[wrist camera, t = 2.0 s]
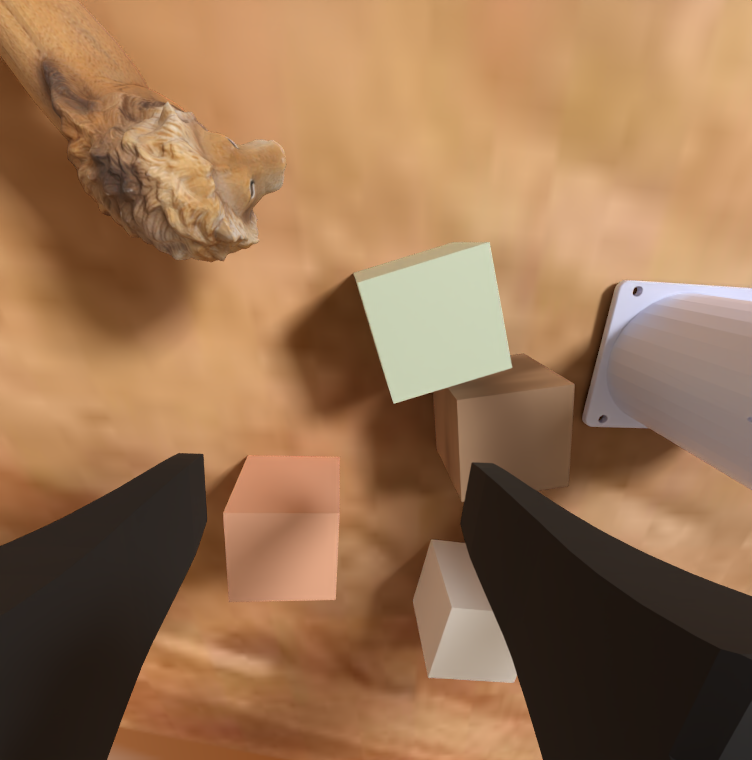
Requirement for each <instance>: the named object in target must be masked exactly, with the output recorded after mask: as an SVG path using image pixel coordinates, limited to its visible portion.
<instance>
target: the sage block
mask: <svg viewBox="0 0 752 760" xmlns="http://www.w3.org/2000/svg"><path fill="white" fill-rule="evenodd" d="M353 274H354V277H355V280H356V284H357V287H358V290H359V294H360V297H361V300H362V304H363V307H364V310H365V314H366V317H367V320H368V324H369V327H370V330H371V334H372V337H373V340H374V344H375V347H376V350H377V353H378V357H379V360H380V363H381V367H382V370H383V373H384V376H385V379H386V382H387V385H388V388H389V391H390V394H391V397H392V400H393V403H394V404H395V403H398V402H401V401H405V400H408V399H411V398H414V397H418V396H421V395H424V394H428V393H431V392H434V391H438V390H441V389H444V388H447V387H451V386H454V385H457V384H461V383H464V382H467V381H471V380H474V379H477V378H480V377H484V376H487V375H490V374H494V373H497V372H500V371H503V370H507V369H510V368H512V364H511V358H510V353H509V347H508V342H507V336H506V331H505V325H504V320H503V314H502V309H501V303H500V298H499V292H498V286H497V281H496V275H495V270H494V264H493V259H492V253H491V248H490V242H452V243H449V244H446V245H443V246H439V247H436V248H433V249H430V250H426V251H423V252H420V253H417V254H414V255H410V256H407V257H404V258H401V259H397V260H394V261H391V262H388V263H384V264H381V265H378V266H375V267H371V268H368V269H365V270H362V271H358V272H355V273H353Z"/></svg>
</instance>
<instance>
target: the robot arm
mask: <svg viewBox="0 0 752 760" xmlns="http://www.w3.org/2000/svg"><path fill="white" fill-rule="evenodd" d="M635 287H637V292H636V294H635V295H633V290H634V288H635ZM602 415H603V418H602V419H601V420H598V419H599V417H600V416H602ZM582 420H583V422H584V423H585V424H587V425H588V426H590V427H619V428H650V429H651V430H653V431H655V432H656V433H658V434H660V435H661V436H663V437H665V438H666V439H668V440H670V441H671V442H673V443H674V444H676V445H678V446H679V447H681V448H683V449H684V450H686V451H688V452H689V453H691V454H693V455H694V456H696V457H698V458H699V459H701V460H703V461H704V462H706V463H708V464H709V465H711V466H713V467H714V468H716V469H718V470H719V471H721V472H723V473H724V474H726V475H728V476H729V477H731V478H732V479H734V480H736V481H737V482H739V483H741V484H742V485H744V486H746V487H747V488H749V489H751V490H752V288H743V287H727V286H712V285H697V284H681V283H666V282H650V281H635V280H623V281H621V282H619V283H618V284H617V285H616V287H615V290H614V294H613V298H612V301H611V305H610V309H609V313H608V317H607V321H606V325H605V329H604V333H603V337H602V341H601V345H600V349H599V353H598V357H597V361H596V365H595V369H594V373H593V377H592V381H591V384H590V388H589V392H588V396H587V400H586V404H585V408H584V412H583V416H582ZM206 522H207V508H206V491H205V474H204V457H203V454H187V453H178V454H176V455H174V456H172V457H170V458H168V459H167V460H165V461H163V462H161V463H160V464H158V465H156V466H155V467H153V468H151V469H149V470H148V471H146V472H144V473H143V474H141V475H139V476H138V477H136V478H134V479H132V480H131V481H129V482H127V483H126V484H124V485H122V486H121V487H119V488H117V489H115V490H114V491H112V492H110V493H108V494H106V495H105V496H103V497H101V498H99V499H97V500H95V501H93V502H92V503H90V504H88V505H86V506H84V507H82V508H80V509H78V510H77V511H75V512H73V513H71V514H69V515H67V516H65V517H63V518H61V519H59V520H57V521H55V522H53V523H51V524H49V525H47V526H45V527H43V528H40V529H38V530H36V531H34V532H32V533H29V534H27V535H25V536H23V537H20V538H18V539H16V540H14V541H11V542H9V543H7V544H4V545H2V546H0V760H107V758H108V755H109V753H110V749H111V747H112V744H113V742H114V739H115V736H116V733H117V731H118V728H119V725H120V722H121V720H122V717H123V714H124V712H125V709H126V706H127V704H128V701H129V699H130V696H131V693H132V691H133V688H134V686H135V683H136V680H137V678H138V675H139V673H140V670H141V668H142V665H143V663H144V661H145V658H146V656H147V654H148V652H149V649H150V647H151V645H152V643H153V641H154V639H155V637H156V635H157V633H158V631H159V629H160V627H161V625H162V623H163V620H164V618H165V616H166V614H167V612H168V610H169V608H170V606H171V604H172V602H173V600H174V598H175V596H176V594H177V592H178V590H179V588H180V586H181V584H182V582H183V580H184V578H185V576H186V574H187V572H188V570H189V568H190V566H191V563H192V561H193V559H194V557H195V555H196V552H197V549H198V546H199V543H200V541H201V538H202V534H203V531H204V528H205V525H206ZM460 524H461V528H462V532H463V536H464V540H465V543H466V547H467V550H468V553H469V557H470V559H471V562H472V564H473V567H474V569H475V571H476V574H477V576H478V579H479V581H480V583H481V586H482V588H483V590H484V593H485V595H486V597H487V599H488V602H489V604H490V606H491V609H492V611H493V613H494V616H495V618H496V620H497V623H498V625H499V627H500V630H501V632H502V634H503V637H504V639H505V642H506V644H507V647H508V649H509V652H510V655H511V657H512V660H513V664H514V667H515V670H516V673H517V676H518V679H519V682H520V685H521V688H522V691H523V694H524V698H525V701H526V704H527V707H528V711H529V714H530V717H531V721H532V724H533V727H534V731H535V734H536V737H537V741H538V744H539V747H540V751H541V754H542V758H543V760H752V596H750V595H747V594H744V593H741V592H739V591H736V590H733V589H730V588H728V587H725V586H722V585H719V584H717V583H714V582H712V581H709V580H707V579H704V578H702V577H699V576H697V575H694V574H692V573H689V572H687V571H685V570H682V569H680V568H678V567H675V566H673V565H671V564H668V563H666V562H664V561H662V560H659V559H657V558H655V557H653V556H650V555H648V554H646V553H644V552H642V551H640V550H638V549H636V548H634V547H632V546H630V545H628V544H626V543H624V542H622V541H620V540H618V539H616V538H614V537H612V536H610V535H608V534H607V533H605V532H603V531H601V530H599V529H597V528H596V527H594V526H592V525H590V524H589V523H587V522H585V521H584V520H582V519H580V518H579V517H577V516H575V515H574V514H572V513H570V512H569V511H567V510H565V509H564V508H562V507H561V506H559V505H557V504H556V503H554V502H553V501H551V500H550V499H548V498H547V497H545V496H544V495H542V494H541V493H539V492H538V491H536V490H535V489H533V488H532V487H530V486H529V485H527V484H526V483H524V482H523V481H521V480H520V479H518V478H517V477H515V476H514V475H512V474H511V473H509V472H507V471H506V470H504V469H503V468H501V467H499V466H497V465H496V464H494V463H477V462H472V463H471V468H470V474H469V479H468V484H467V490H466V495H465V501H464V506H463V512H462V517H461V522H460Z"/></svg>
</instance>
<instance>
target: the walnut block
mask: <svg viewBox="0 0 752 760" xmlns="http://www.w3.org/2000/svg"><path fill="white" fill-rule="evenodd" d="M510 358H511V364H512V368H510V369H507V370H503V371H500V372H497V373H494V374H490V375H487V376H484V377H480V378H477V379H474V380H471V381H467V382H464V383H461V384H457V385H454V386H451V387H447V388H444V389H441V390H438V391H434V392H433V402H434V418H435V433H436V448H437V451H438V453H439V455H440V457H441V460H442V462H443V464H444V466H445V468H446V470H447V472H448V474H449V477H450V479H451V481H452V483H453V485H454V487H455V489H456V491H457V494H458V496H459V498H460V500H461V502H464V501H465V495H466V490H467V484H468V479H469V474H470V468H471V463H472V462H477V463H494V464H496V465H497V466H499V467H501V468H503V469H504V470H506V471H507V472H509V473H511V474H512V475H514V476H515V477H517V478H518V479H520V480H521V481H523V482H524V483H526V484H527V485H529V486H530V487H532V488H533V489H535V490H536V491H540V490H547V489H553V488H560V487H567V486H569V473H570V456H571V440H572V423H573V407H574V391H575V384H574V383H572V382H570V381H569V380H567V379H565V378H564V377H562V376H560V375H559V374H557V373H555V372H554V371H552V370H550V369H549V368H547V367H545V366H544V365H542V364H540V363H539V362H537V361H535V360H534V359H532V358H530V357H529V356H527V355H525V354H516V355H510Z"/></svg>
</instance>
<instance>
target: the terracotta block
mask: <svg viewBox="0 0 752 760" xmlns="http://www.w3.org/2000/svg"><path fill="white" fill-rule="evenodd" d="M339 514H340V457H316V456H258V455H248V456H247V459H246V461H245V463H244V466H243V468H242V470H241V473H240V475H239V477H238V480H237V482H236V484H235V486H234V489H233V491H232V493H231V496H230V498H229V500H228V503H227V505H226V507H225V510H224V512H223V520H224V535H225V550H226V565H227V580H228V595H229V602H251V601H301V600H336V581H337V558H338V536H339Z"/></svg>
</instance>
